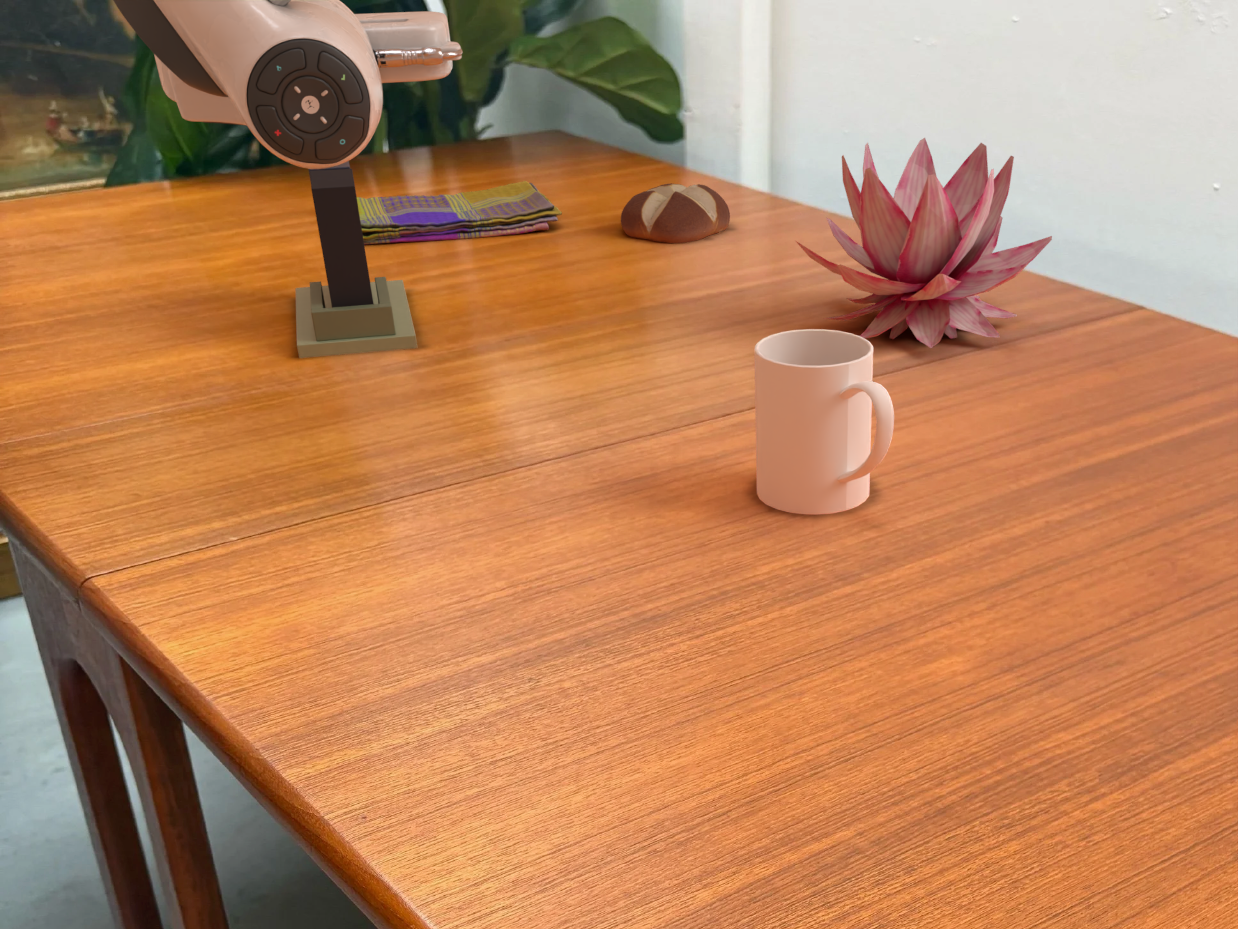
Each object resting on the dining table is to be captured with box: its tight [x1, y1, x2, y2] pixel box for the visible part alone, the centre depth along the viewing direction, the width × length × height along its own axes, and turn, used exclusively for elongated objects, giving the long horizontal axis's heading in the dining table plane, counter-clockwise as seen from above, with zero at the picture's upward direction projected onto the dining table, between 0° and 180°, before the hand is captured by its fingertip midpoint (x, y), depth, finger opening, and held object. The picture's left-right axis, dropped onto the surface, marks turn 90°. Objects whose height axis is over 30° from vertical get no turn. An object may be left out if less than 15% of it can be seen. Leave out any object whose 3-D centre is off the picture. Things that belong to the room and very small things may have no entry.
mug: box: [753, 328, 895, 516], centre depth 101 cm, size 12×8×10 cm, turn 34°
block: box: [310, 168, 374, 308], centre depth 131 cm, size 4×7×12 cm, turn 16°
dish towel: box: [357, 180, 563, 246], centre depth 168 cm, size 18×24×3 cm
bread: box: [620, 183, 731, 244], centre depth 164 cm, size 11×11×5 cm
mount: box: [295, 160, 418, 359], centre depth 134 cm, size 18×10×14 cm, turn 16°
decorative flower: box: [795, 137, 1053, 349], centre depth 132 cm, size 21×21×15 cm
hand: (304, 34), depth 111 cm, fingers open, 8 cm apart
